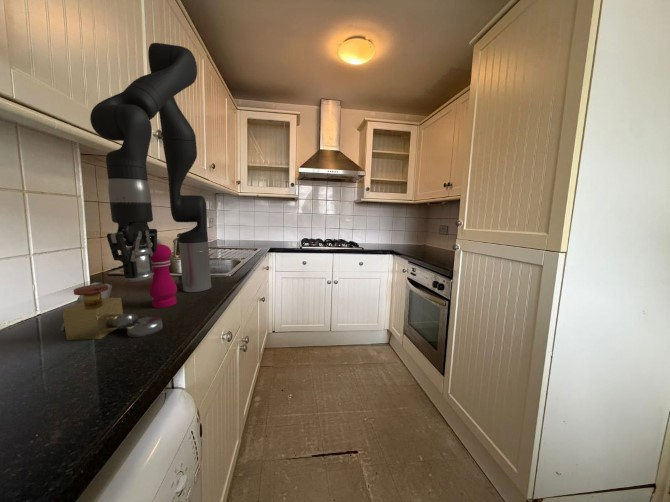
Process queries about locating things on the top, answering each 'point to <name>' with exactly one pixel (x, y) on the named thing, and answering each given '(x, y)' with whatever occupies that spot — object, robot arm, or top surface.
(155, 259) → the pepper mill
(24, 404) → the top surface
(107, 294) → the hinge
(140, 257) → the door knob
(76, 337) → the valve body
